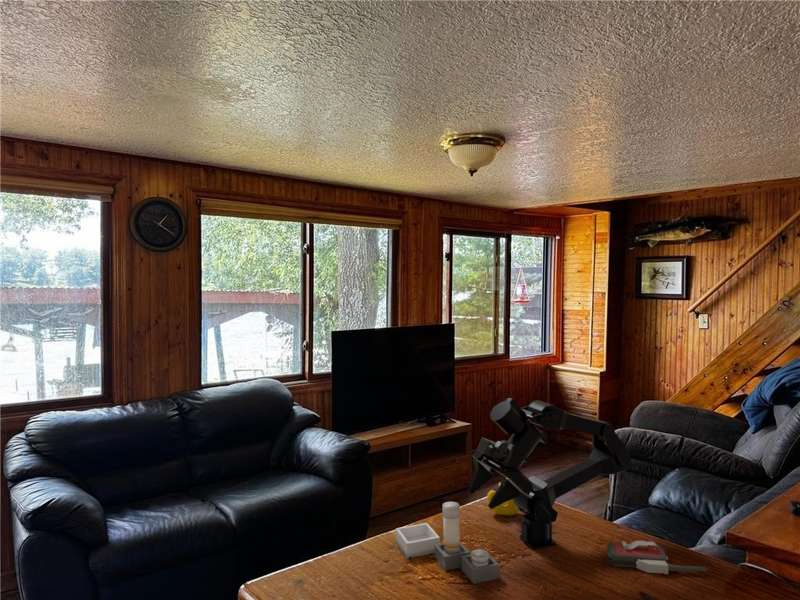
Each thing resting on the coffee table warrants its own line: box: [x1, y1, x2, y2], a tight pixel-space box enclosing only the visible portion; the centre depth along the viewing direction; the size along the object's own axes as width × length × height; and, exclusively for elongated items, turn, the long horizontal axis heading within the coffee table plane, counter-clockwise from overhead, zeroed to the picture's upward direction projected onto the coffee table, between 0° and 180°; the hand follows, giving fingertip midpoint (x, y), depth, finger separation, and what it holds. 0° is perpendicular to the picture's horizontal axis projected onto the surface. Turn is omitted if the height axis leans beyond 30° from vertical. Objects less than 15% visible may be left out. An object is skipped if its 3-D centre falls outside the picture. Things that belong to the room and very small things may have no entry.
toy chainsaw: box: [606, 540, 707, 575], centre depth 123 cm, size 9×4×20 cm
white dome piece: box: [470, 548, 490, 568], centre depth 120 cm, size 4×4×4 cm
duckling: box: [486, 477, 520, 516], centre depth 149 cm, size 11×5×10 cm, turn 88°
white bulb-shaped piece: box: [442, 501, 461, 555], centre depth 125 cm, size 4×4×13 cm
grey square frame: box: [434, 541, 471, 571], centre depth 125 cm, size 6×6×3 cm
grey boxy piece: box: [460, 553, 501, 585], centre depth 120 cm, size 6×6×3 cm
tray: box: [395, 522, 441, 559], centre depth 132 cm, size 8×8×4 cm
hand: (479, 500), depth 128 cm, fingers open, 9 cm apart
